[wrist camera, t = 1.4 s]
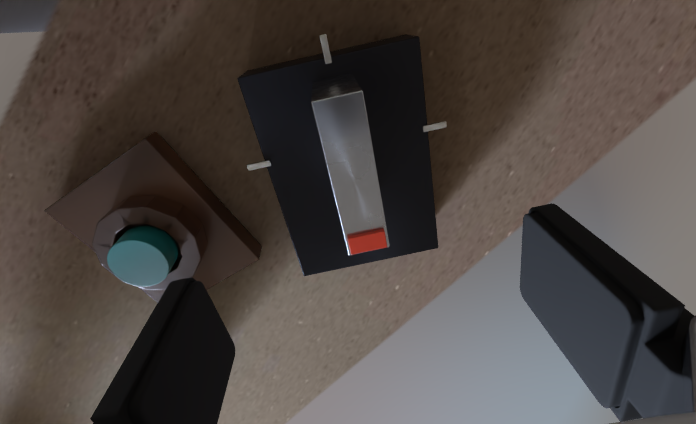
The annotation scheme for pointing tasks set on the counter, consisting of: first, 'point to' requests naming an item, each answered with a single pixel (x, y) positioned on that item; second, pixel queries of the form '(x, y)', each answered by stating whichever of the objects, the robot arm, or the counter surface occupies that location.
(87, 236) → the brown square base
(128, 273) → the button
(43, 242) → the counter surface
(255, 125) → the black rectangular base
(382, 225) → the metal block
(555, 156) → the counter surface
